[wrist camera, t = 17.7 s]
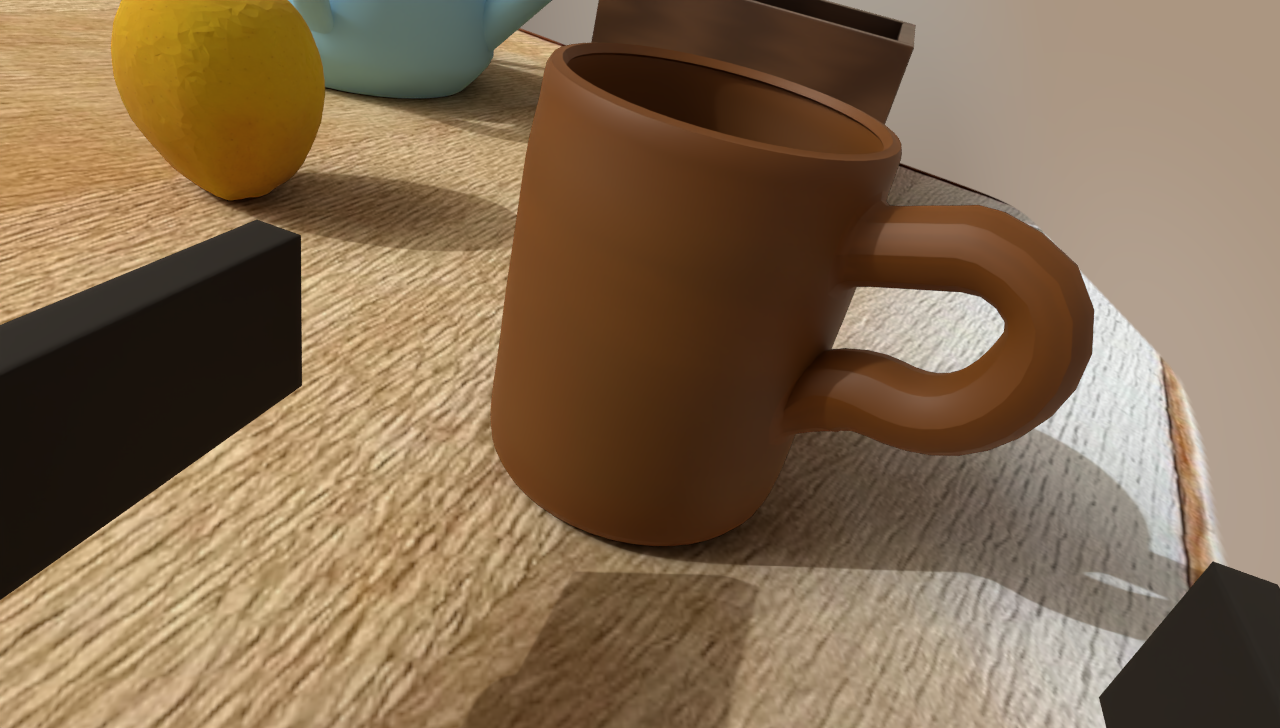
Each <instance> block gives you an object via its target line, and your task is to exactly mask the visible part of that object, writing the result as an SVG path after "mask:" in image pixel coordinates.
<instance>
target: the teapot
mask: <svg viewBox="0 0 1280 728" xmlns="http://www.w3.org/2000/svg"><path fill="white" fill-rule="evenodd" d="M288 1H289V2H290V3H291V4H292V5H293V6H294V7H295V8H296V9H297V10H298V12H299V13H300V14H301V16H302V17H303V19H304V20H305V22H306V23H307V25H308V27H309V29H310V31H311V33H312V35H313V38H314V40H315V43H316V46H317V48H318V51H319V54H320V57H321V61H322V65H323V73H324V79H325V87H327V88H331V89H336V90H341V91H346V92H352V93H358V94H365V95H372V96H381V97H393V98H436V97H443V96H448V95H453V94H456V93H458V92H460V91H462V90H463V89H465V88H466V87H467V86H468V85H469V84H470V83H472V82H473V81H474V80H475V79H476V78H477V77H478V76H479V75H480V74H481V73H482V72H483V71H484V70H485V69H486V68H487V67H488V65H489V64H490V62H491V60H492V58H493V53H494V49H495V48H497V47H498V46H499V45H500V44H501V43H502V42H504V41H505V40H506V39H507V38H508V37H510V36H511V35H512V34H513V33H514V32H515V31H517V30H518V29H519V28H520V27H521V26H522V25H524V24H525V23H526V22H527V21H528V20H529V19H531V18H532V17H533V16H534V15H535V14H537V13H538V12H539V11H540V10H541V9H542V8H543V7H545V6H546V5H547V4H548V3H549V2H551V1H552V0H288Z"/></svg>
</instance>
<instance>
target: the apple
mask: <svg viewBox="0 0 1280 728" xmlns="http://www.w3.org/2000/svg"><path fill="white" fill-rule="evenodd" d="M111 55H112V66H113V73H114V79H115V82H116V85H117V88H118V90H119V93H120V96H121V99H122V101H123V103H124V105H125V107H126V109H127V111H128V113H129V115H130V117H131V119H132V120H133V122H134V123H135V124H136V126H137V127H138V128H139V130H140V131H141V132H142V133H143V135H144V136H145V137H146V138H147V139H148V141H149V142H150V143H151V144H152V145H153V146H154V147H155V148H156V149H157V151H158V152H159V153H160V154H161V155H162V156H163V157H164V159H165V160H166V161H167V162H168V163H169V164H170V165H171V166H172V167H173V168H174V169H176V170H177V171H178V172H179V173H181V174H182V175H183V176H185V177H186V178H188V179H189V180H191V181H192V182H193V183H195V184H196V185H198V186H199V187H201V188H203V189H204V190H206V191H208V192H210V193H212V194H214V195H215V196H218V197H220V198H223V199H226V200H237V199H244V198H248V197H259V196H262V195H266V194H268V193H270V192H271V191H272V190H273V189H275V188H276V187H278V186H279V185H281V184H283V183H285V182H287V181H288V180H289V179H290V178H291V177H293V176H294V175H295V173H296V172H297V171H298V170H299V168H300V167H301V166H302V164H303V163H304V161H305V159H306V156H307V155H308V153H309V151H310V149H311V147H312V144H313V142H314V140H315V137H316V135H317V132H318V129H319V126H320V124H321V119H322V112H323V107H324V98H325V79H324V73H323V65H322V61H321V57H320V54H319V51H318V48H317V46H316V43H315V40H314V38H313V35H312V33H311V31H310V29H309V27H308V25H307V23H306V22H305V20H304V19H303V17H302V16H301V14H300V13H299V12H298V10H297V9H296V8H295V7H294V6H293V5H292V4H291V3H290V2H289V1H288V0H122V1H121V3H120V6H119V8H118V11H117V13H116V16H115V19H114V22H113V31H112V40H111Z"/></svg>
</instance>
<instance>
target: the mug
mask: <svg viewBox="0 0 1280 728" xmlns="http://www.w3.org/2000/svg"><path fill="white" fill-rule="evenodd" d="M901 151H902V149H901V142H900V140H899V138H898V137H897V136H896V135H895V133H894V132H893V131H891V130H890V129H889V128H888V127H886V126H885V125H884V124H882V123H881V122H880V121H878V120H877V119H875V118H873V117H871V116H870V115H868V114H866V113H865V112H863V111H861V110H859V109H857V108H855V107H853V106H851V105H849V104H846V103H844V102H842V101H840V100H838V99H835V98H833V97H830V96H828V95H826V94H823V93H821V92H818V91H816V90H813V89H810V88H808V87H805V86H802V85H800V84H797V83H794V82H791V81H788V80H785V79H782V78H779V77H776V76H773V75H770V74H767V73H764V72H760V71H757V70H754V69H750V68H747V67H743V66H739V65H736V64H732V63H728V62H724V61H720V60H716V59H712V58H708V57H703V56H699V55H694V54H689V53H684V52H679V51H674V50H668V49H662V48H656V47H649V46H641V45H632V44H621V43H579V44H571V45H567V46H563V47H560V48H558V49H556V50H555V51H554V52H553V53H552V55H551V56H550V58H549V59H548V61H547V63H546V67H545V71H544V76H543V81H542V86H541V91H540V96H539V100H538V104H537V108H536V112H535V116H534V120H533V124H532V128H531V132H530V136H529V141H528V147H527V152H526V158H525V164H524V171H523V177H522V184H521V191H520V198H519V205H518V212H517V218H516V225H515V232H514V239H513V246H512V253H511V259H510V266H509V273H508V280H507V287H506V294H505V301H504V309H503V318H502V326H501V334H500V342H499V349H498V356H497V363H496V370H495V377H494V384H493V391H492V399H491V414H490V416H491V429H492V438H493V442H494V446H495V449H496V452H497V454H498V456H499V458H500V460H501V462H502V464H503V466H504V467H505V469H506V471H507V472H508V474H509V475H510V477H511V478H512V479H513V481H514V482H515V483H516V485H517V486H518V487H519V488H520V489H521V490H522V491H523V492H524V493H525V494H526V495H527V496H528V497H529V498H530V499H532V500H533V501H534V502H535V503H536V504H538V505H539V506H540V507H542V508H543V509H545V510H546V511H548V512H549V513H551V514H552V515H554V516H555V517H557V518H559V519H561V520H563V521H565V522H567V523H568V524H570V525H572V526H574V527H577V528H579V529H582V530H584V531H587V532H589V533H592V534H595V535H598V536H601V537H605V538H608V539H611V540H616V541H621V542H626V543H631V544H639V545H649V546H676V545H686V544H693V543H697V542H702V541H706V540H709V539H712V538H715V537H718V536H720V535H723V534H724V533H726V532H728V531H730V530H732V529H734V528H736V527H737V526H739V525H741V524H742V523H744V522H745V521H746V520H748V519H749V518H750V517H751V516H753V514H754V513H755V512H756V511H757V510H758V509H759V507H760V506H761V505H762V504H763V502H764V501H765V500H766V498H767V497H768V495H769V493H770V491H771V490H772V488H773V486H774V484H775V482H776V480H777V478H778V476H779V474H780V472H781V469H782V467H783V465H784V462H785V460H786V458H787V455H788V453H789V450H790V448H791V445H792V442H793V440H794V437H795V435H796V434H799V433H806V432H820V431H832V432H839V431H853V432H856V433H859V434H861V435H864V436H867V437H869V438H872V439H874V440H876V441H879V442H881V443H884V444H887V445H890V446H893V447H896V448H899V449H902V450H905V451H910V452H916V453H921V454H926V455H939V456H960V455H966V454H972V453H978V452H983V451H988V450H991V449H993V448H996V447H999V446H1001V445H1004V444H1006V443H1009V442H1011V441H1014V440H1016V439H1018V438H1020V437H1022V436H1023V435H1025V434H1026V433H1028V432H1029V431H1031V430H1032V429H1034V428H1035V427H1037V426H1038V425H1040V424H1041V423H1043V422H1044V421H1046V420H1047V419H1049V418H1050V417H1051V416H1052V415H1053V414H1054V413H1055V412H1056V411H1057V410H1058V409H1059V408H1060V406H1061V405H1062V404H1063V403H1064V402H1065V401H1066V400H1067V399H1068V398H1069V397H1070V395H1071V394H1072V393H1073V392H1074V391H1075V390H1076V388H1077V386H1078V384H1079V382H1080V379H1081V377H1082V375H1083V373H1084V371H1085V368H1086V366H1087V364H1088V362H1089V360H1090V357H1091V355H1092V345H1093V324H1094V308H1093V305H1092V303H1091V300H1090V297H1089V294H1088V292H1087V289H1086V286H1085V284H1084V281H1083V278H1082V276H1081V273H1080V270H1079V268H1078V265H1077V264H1076V263H1074V262H1073V261H1072V260H1071V259H1070V258H1069V257H1068V256H1067V255H1066V254H1065V253H1064V252H1063V251H1062V250H1060V249H1059V248H1058V247H1057V246H1056V245H1055V244H1054V243H1053V242H1052V241H1051V240H1050V239H1049V238H1048V237H1046V236H1045V235H1044V234H1043V233H1042V232H1040V231H1038V230H1037V229H1035V228H1033V227H1031V226H1029V225H1028V224H1026V223H1024V222H1022V221H1020V220H1019V219H1017V218H1015V217H1013V216H1011V215H1009V214H1008V213H1006V212H1003V211H999V210H996V209H992V208H988V207H984V206H980V205H964V206H890V205H889V204H888V203H887V198H888V195H889V192H890V189H891V186H892V183H893V181H894V178H895V175H896V172H897V169H898V166H899V163H900V160H901V155H902V152H901ZM856 287H883V288H900V289H916V290H933V291H949V292H963V293H967V294H971V295H975V296H979V297H982V298H983V299H984V300H986V301H987V302H988V303H990V304H991V305H992V306H994V307H995V308H996V309H997V311H998V312H999V314H1000V315H1001V317H1002V319H1003V320H1004V322H1005V325H1004V332H1003V334H1002V335H1001V336H1000V338H999V339H998V340H997V341H996V343H995V344H994V345H993V346H992V347H991V348H990V349H989V350H988V351H987V352H986V353H985V354H984V355H983V356H982V357H981V358H980V359H979V360H977V361H976V362H974V363H973V364H971V365H970V366H968V367H966V368H964V369H962V370H959V371H955V372H951V373H934V372H928V371H925V370H922V369H919V368H916V367H914V366H912V365H910V364H908V363H906V362H904V361H901V360H899V359H896V358H894V357H891V356H889V355H886V354H882V353H878V352H873V351H869V350H860V349H848V348H843V349H832V346H833V344H834V341H835V339H836V337H837V334H838V332H839V329H840V327H841V325H842V322H843V320H844V317H845V315H846V312H847V310H848V307H849V305H850V302H851V300H852V297H853V295H854V292H855V290H856Z"/></svg>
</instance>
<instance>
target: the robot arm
mask: <svg viewBox="0 0 1280 728" xmlns="http://www.w3.org/2000/svg"><path fill="white" fill-rule="evenodd" d="M301 386H302V331H301V235H299V234H296V233H293V232H290V231H288V230H285V229H282V228H279V227H276V226H274V225H271V224H268V223H265V222H262V221H260V220H255V221H252V222H250V223H247V224H245V225H243V226H240V227H238V228H235V229H233V230H230V231H228V232H226V233H223V234H221V235H218V236H216V237H213V238H211V239H209V240H206V241H204V242H201V243H199V244H196V245H194V246H192V247H189V248H187V249H184V250H182V251H179V252H177V253H174V254H172V255H170V256H167V257H165V258H162V259H160V260H157V261H155V262H153V263H150V264H148V265H145V266H143V267H140V268H138V269H136V270H133V271H131V272H128V273H126V274H123V275H121V276H119V277H116V278H114V279H111V280H109V281H106V282H104V283H102V284H99V285H97V286H94V287H92V288H89V289H87V290H84V291H82V292H80V293H77V294H75V295H72V296H70V297H67V298H65V299H63V300H60V301H58V302H55V303H53V304H50V305H48V306H46V307H43V308H41V309H38V310H36V311H33V312H31V313H29V314H26V315H24V316H21V317H19V318H16V319H14V320H12V321H9V322H7V323H4V324H2V325H0V600H1V599H2V598H4V597H5V596H7V595H8V594H9V593H11V592H12V591H14V590H15V589H16V588H18V587H19V586H21V585H22V584H23V583H25V582H26V581H28V580H29V579H30V578H32V577H33V576H35V575H36V574H38V573H39V572H40V571H42V570H43V569H45V568H46V567H47V566H49V565H50V564H52V563H53V562H54V561H56V560H57V559H59V558H60V557H61V556H63V555H64V554H66V553H67V552H68V551H70V550H71V549H73V548H74V547H75V546H77V545H78V544H80V543H81V542H83V541H84V540H85V539H87V538H88V537H90V536H91V535H92V534H94V533H95V532H97V531H98V530H99V529H101V528H102V527H104V526H105V525H106V524H108V523H109V522H111V521H112V520H113V519H115V518H116V517H118V516H119V515H121V514H122V513H123V512H125V511H126V510H128V509H129V508H130V507H132V506H133V505H135V504H136V503H137V502H139V501H140V500H142V499H143V498H144V497H146V496H147V495H149V494H150V493H151V492H153V491H154V490H156V489H157V488H159V487H160V486H161V485H163V484H164V483H166V482H167V481H168V480H170V479H171V478H173V477H174V476H175V475H177V474H178V473H180V472H181V471H182V470H184V469H185V468H187V467H188V466H189V465H191V464H192V463H194V462H195V461H197V460H198V459H199V458H201V457H202V456H204V455H205V454H206V453H208V452H209V451H211V450H212V449H213V448H215V447H216V446H218V445H219V444H220V443H222V442H223V441H225V440H226V439H227V438H229V437H230V436H232V435H233V434H234V433H236V432H237V431H239V430H240V429H242V428H243V427H244V426H246V425H247V424H249V423H250V422H251V421H253V420H254V419H256V418H257V417H258V416H260V415H261V414H263V413H264V412H265V411H267V410H268V409H270V408H271V407H272V406H274V405H275V404H277V403H278V402H280V401H281V400H282V399H284V398H285V397H287V396H288V395H289V394H291V393H292V392H294V391H295V390H296V389H298V388H299V387H301ZM1099 699H1100V703H1101V707H1102V712H1103V716H1104V720H1105V724H1106V728H1280V588H1279V586H1278V585H1277V584H1274V583H1271V582H1269V581H1266V580H1263V579H1260V578H1258V577H1255V576H1252V575H1249V574H1246V573H1243V572H1241V571H1238V570H1235V569H1233V568H1230V567H1227V566H1224V565H1221V564H1219V563H1216V562H1212V563H1211V564H1210V566H1209V567H1208V568H1207V569H1206V570H1205V571H1204V573H1203V574H1202V575H1201V576H1200V577H1199V579H1198V580H1197V581H1196V582H1195V583H1194V585H1193V586H1192V587H1191V588H1190V589H1189V591H1188V592H1187V593H1186V594H1185V595H1184V597H1183V598H1182V599H1181V600H1180V601H1179V602H1178V604H1177V605H1176V606H1175V607H1174V608H1173V610H1172V611H1171V612H1170V613H1169V614H1168V616H1167V617H1166V618H1165V619H1164V620H1163V622H1162V623H1161V624H1160V625H1159V626H1158V628H1157V629H1156V630H1155V631H1154V632H1153V633H1152V635H1151V636H1150V637H1149V638H1148V639H1147V641H1146V642H1145V643H1144V644H1143V645H1142V647H1141V648H1140V649H1139V650H1138V651H1137V653H1136V654H1135V655H1134V656H1133V657H1132V659H1131V660H1130V661H1129V662H1128V663H1127V664H1126V666H1125V667H1124V668H1123V669H1122V670H1121V672H1120V673H1119V674H1118V675H1117V676H1116V678H1115V679H1114V680H1113V681H1112V682H1111V684H1110V685H1109V686H1108V687H1107V688H1106V690H1105V691H1104V692H1103V693H1102V694H1101V695H1100V697H1099Z"/></svg>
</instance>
